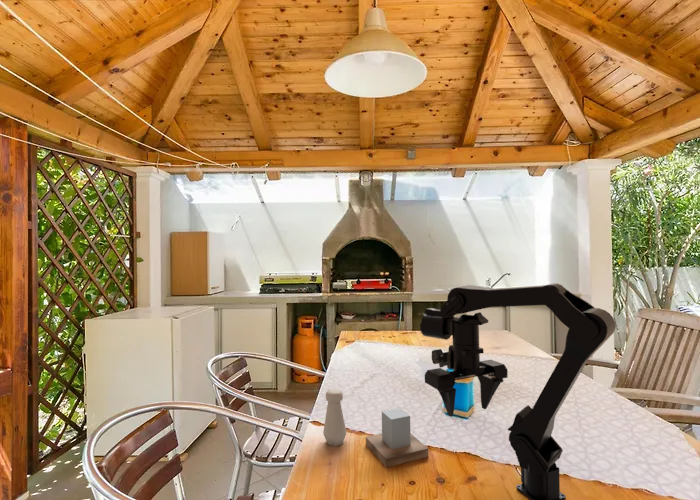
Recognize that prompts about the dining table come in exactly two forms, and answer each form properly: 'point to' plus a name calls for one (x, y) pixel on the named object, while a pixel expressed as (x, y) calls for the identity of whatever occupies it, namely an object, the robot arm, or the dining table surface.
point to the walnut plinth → (396, 451)
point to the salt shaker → (334, 418)
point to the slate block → (396, 428)
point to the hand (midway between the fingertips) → (467, 412)
